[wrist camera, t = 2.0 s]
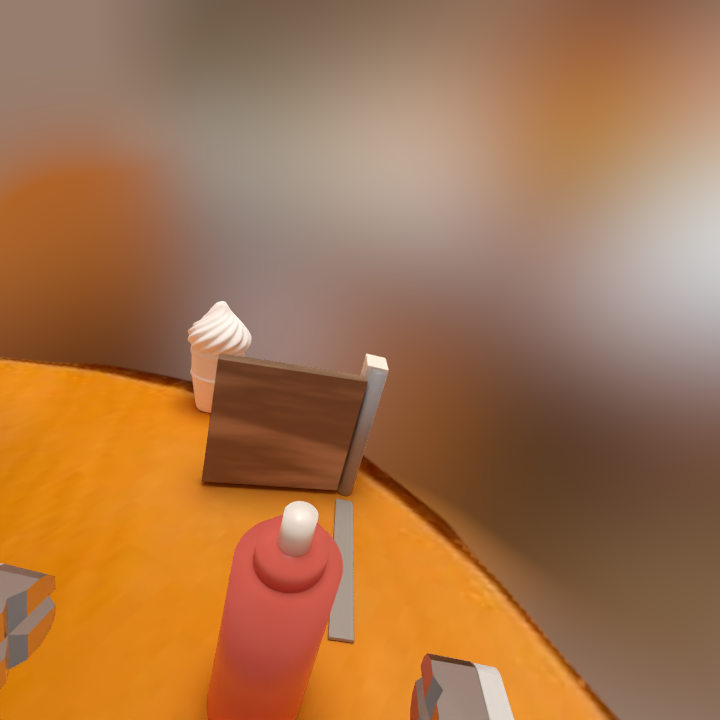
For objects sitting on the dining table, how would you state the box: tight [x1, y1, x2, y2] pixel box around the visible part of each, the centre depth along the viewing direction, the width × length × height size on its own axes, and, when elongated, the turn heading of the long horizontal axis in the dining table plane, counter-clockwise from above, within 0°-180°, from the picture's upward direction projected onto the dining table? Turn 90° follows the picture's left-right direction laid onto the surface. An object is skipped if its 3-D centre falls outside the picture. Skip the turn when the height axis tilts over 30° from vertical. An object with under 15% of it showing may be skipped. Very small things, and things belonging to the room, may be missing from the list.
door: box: [202, 353, 367, 490], centre depth 40 cm, size 3×15×14 cm, turn 101°
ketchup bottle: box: [207, 501, 343, 720], centre depth 21 cm, size 6×6×15 cm
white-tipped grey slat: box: [328, 354, 388, 643], centre depth 36 cm, size 2×22×16 cm, turn 1°
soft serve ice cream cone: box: [188, 301, 251, 413], centre depth 52 cm, size 8×8×16 cm
